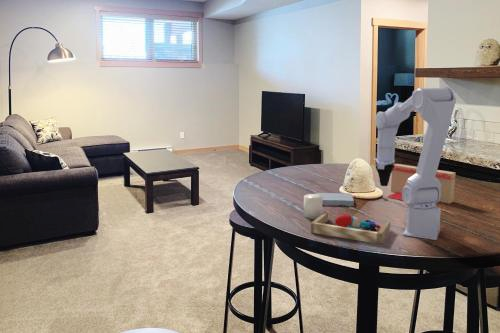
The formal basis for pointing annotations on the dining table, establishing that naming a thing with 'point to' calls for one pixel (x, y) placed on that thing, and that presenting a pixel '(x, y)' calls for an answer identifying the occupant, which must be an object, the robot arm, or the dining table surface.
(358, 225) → the toy figure
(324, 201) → the slate box
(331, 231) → the wooden tray
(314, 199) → the cream rounded block
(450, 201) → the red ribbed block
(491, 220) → the dining table surface
